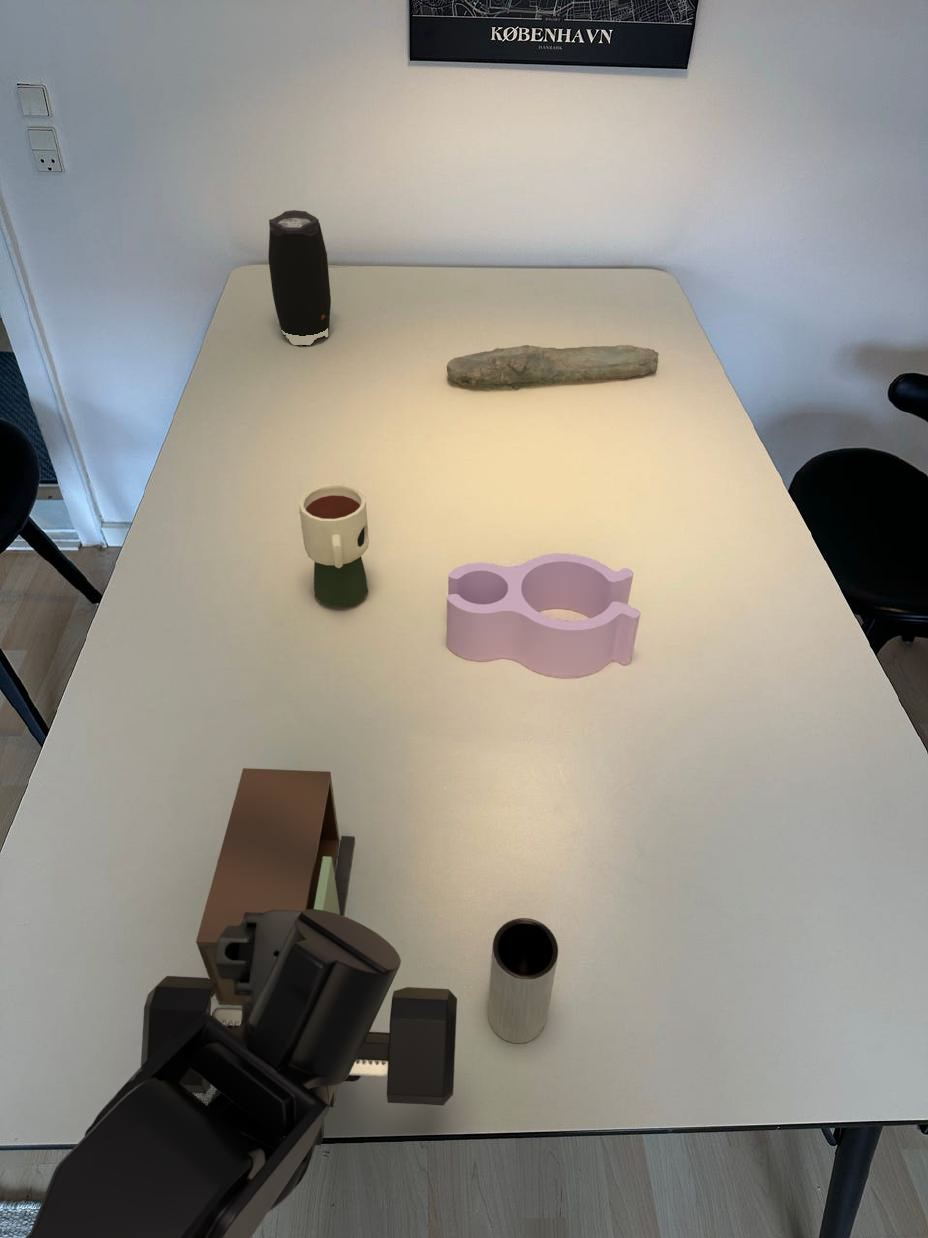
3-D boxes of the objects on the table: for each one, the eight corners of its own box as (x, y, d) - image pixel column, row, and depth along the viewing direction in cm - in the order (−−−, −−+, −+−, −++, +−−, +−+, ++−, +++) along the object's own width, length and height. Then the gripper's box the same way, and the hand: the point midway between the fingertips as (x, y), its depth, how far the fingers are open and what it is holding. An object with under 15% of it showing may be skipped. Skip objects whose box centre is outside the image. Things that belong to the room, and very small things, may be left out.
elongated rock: (665, 389, 145) (644, 364, 153) (672, 358, 142) (650, 333, 149) (452, 395, 139) (441, 368, 146) (454, 362, 135) (442, 336, 143)
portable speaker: (341, 340, 154) (332, 221, 140) (291, 352, 150) (276, 232, 137) (320, 321, 159) (309, 205, 146) (270, 333, 155) (255, 214, 142)
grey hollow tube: (548, 1045, 67) (560, 980, 60) (487, 1043, 67) (493, 979, 60) (544, 985, 71) (556, 917, 64) (487, 984, 71) (492, 916, 64)
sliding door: (342, 1005, 68) (333, 951, 63) (317, 1004, 68) (306, 950, 63) (354, 914, 74) (347, 857, 68) (331, 913, 74) (322, 856, 68)
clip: (444, 673, 95) (445, 625, 91) (449, 596, 105) (450, 549, 100) (633, 680, 95) (643, 632, 91) (622, 602, 104) (630, 555, 100)
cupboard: (330, 1009, 69) (319, 947, 62) (218, 1004, 69) (195, 941, 63) (355, 839, 80) (347, 771, 74) (259, 835, 80) (243, 767, 74)
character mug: (376, 622, 101) (370, 528, 93) (312, 628, 100) (300, 534, 92) (368, 561, 109) (361, 470, 100) (308, 567, 108) (297, 475, 99)
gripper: (457, 951, 48) (462, 879, 63) (107, 935, 48) (199, 867, 64) (448, 1167, 47) (456, 1040, 63) (95, 1149, 48) (190, 1028, 63)
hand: (325, 989), depth 63 cm, fingers closed
